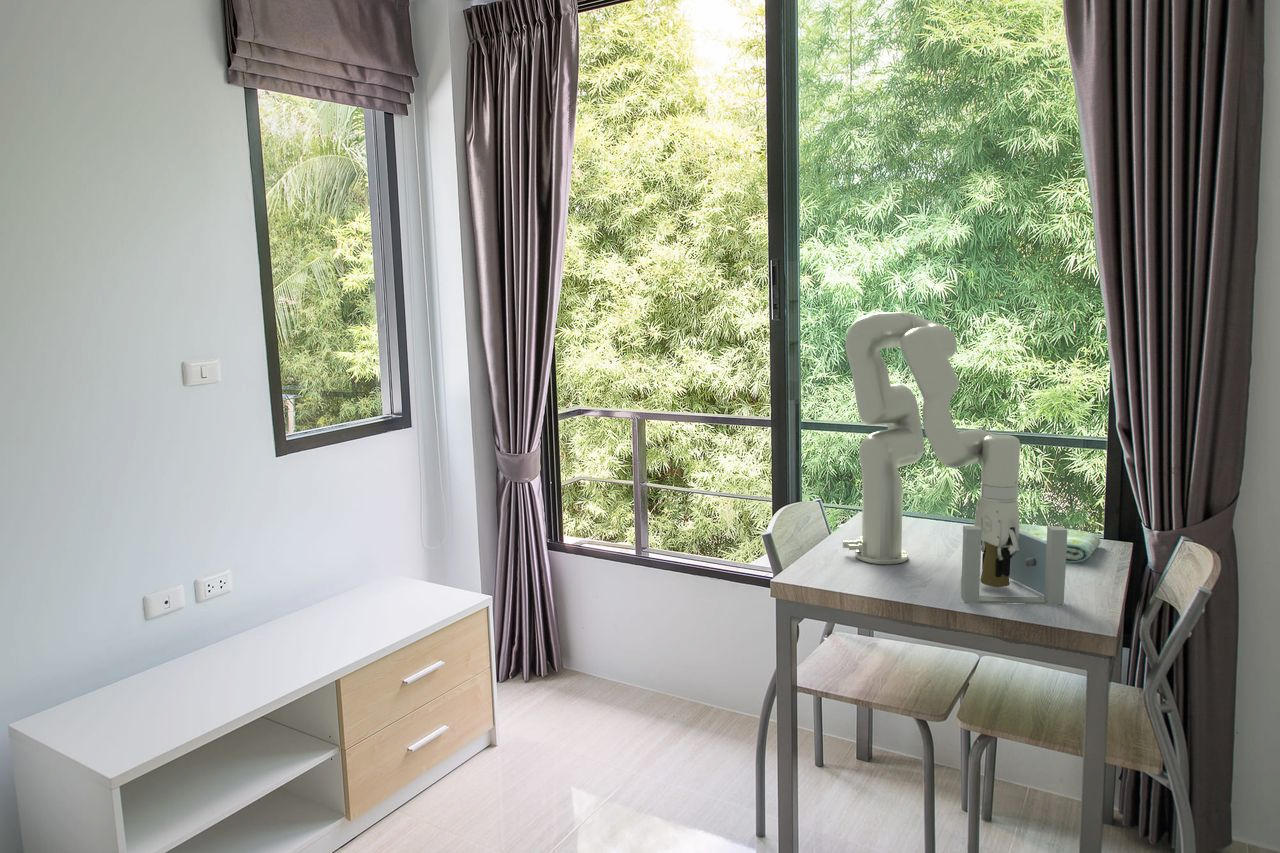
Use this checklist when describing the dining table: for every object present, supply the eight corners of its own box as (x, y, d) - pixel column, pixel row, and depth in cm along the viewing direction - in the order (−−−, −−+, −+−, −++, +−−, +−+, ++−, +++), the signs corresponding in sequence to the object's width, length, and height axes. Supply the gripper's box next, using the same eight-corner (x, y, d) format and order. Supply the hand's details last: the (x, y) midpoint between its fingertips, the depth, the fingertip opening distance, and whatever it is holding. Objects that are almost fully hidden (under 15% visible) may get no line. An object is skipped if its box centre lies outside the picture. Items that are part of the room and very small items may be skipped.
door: (1049, 594, 189) (1052, 543, 188) (1038, 596, 189) (1040, 545, 187) (1011, 576, 202) (1013, 528, 200) (1000, 577, 201) (1002, 529, 199)
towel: (1012, 536, 237) (1012, 517, 236) (1100, 548, 225) (1101, 529, 224) (993, 553, 222) (994, 534, 222) (1087, 567, 210) (1088, 547, 209)
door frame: (964, 602, 188) (966, 529, 186) (960, 597, 191) (963, 525, 189) (1063, 604, 186) (1067, 530, 183) (1058, 599, 189) (1062, 526, 186)
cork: (989, 587, 193) (991, 538, 191) (974, 578, 199) (976, 531, 197) (1015, 585, 194) (1017, 537, 192) (1000, 577, 200) (1002, 529, 198)
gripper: (961, 484, 200) (958, 563, 203) (1008, 502, 184) (1004, 587, 187) (990, 482, 202) (987, 560, 205) (1039, 499, 186) (1035, 583, 189)
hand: (995, 572), depth 196 cm, fingers closed on cork, 4 cm apart
